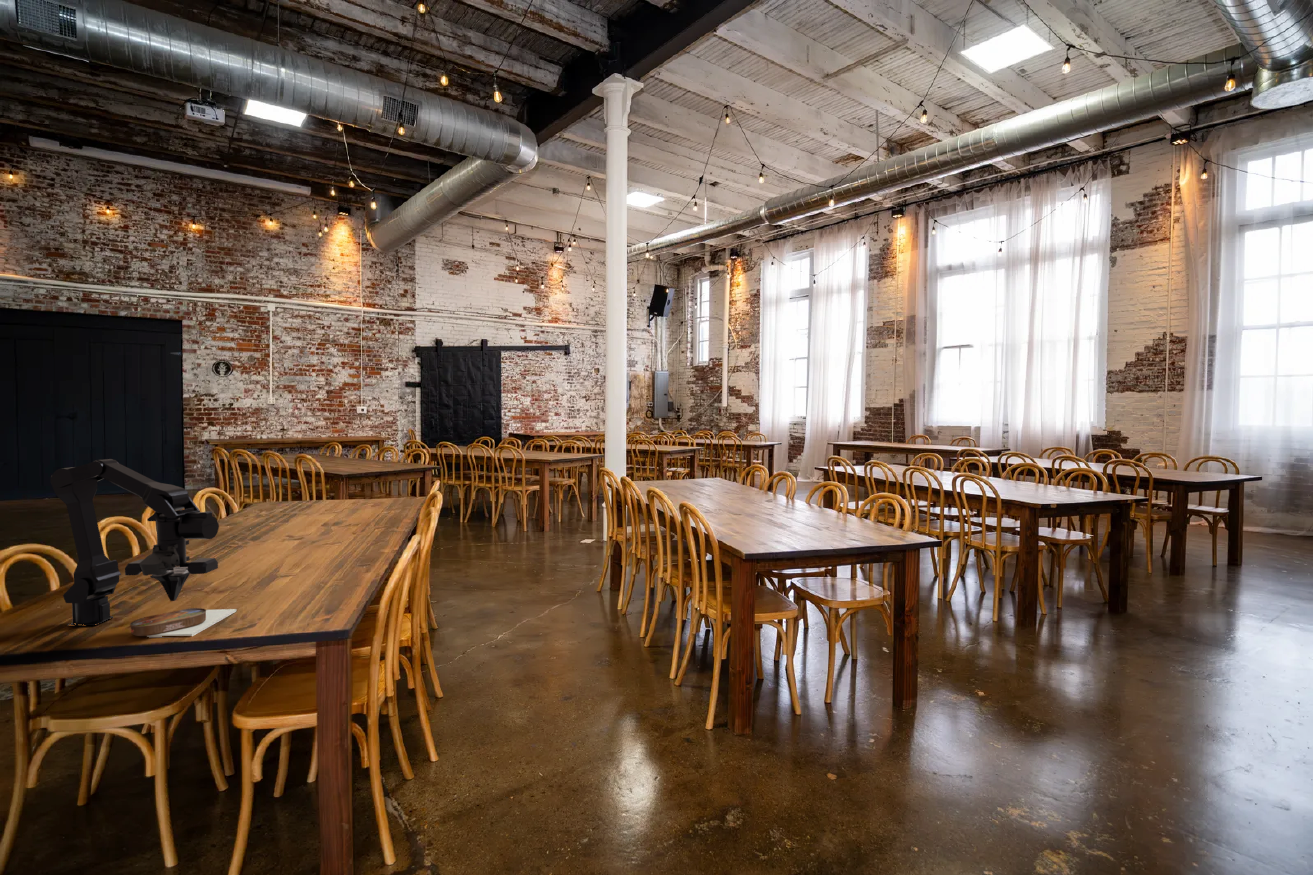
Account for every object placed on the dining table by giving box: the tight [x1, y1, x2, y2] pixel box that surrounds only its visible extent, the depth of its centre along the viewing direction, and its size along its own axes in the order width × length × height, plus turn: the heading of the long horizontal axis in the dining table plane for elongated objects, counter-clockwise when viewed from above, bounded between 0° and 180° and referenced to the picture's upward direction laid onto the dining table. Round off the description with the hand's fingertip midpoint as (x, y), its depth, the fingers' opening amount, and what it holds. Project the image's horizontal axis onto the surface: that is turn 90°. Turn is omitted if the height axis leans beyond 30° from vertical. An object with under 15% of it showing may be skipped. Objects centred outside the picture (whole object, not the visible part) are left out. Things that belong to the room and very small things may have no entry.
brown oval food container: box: [129, 607, 207, 637], centre depth 158 cm, size 15×3×8 cm
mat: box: [146, 608, 237, 638], centre depth 163 cm, size 10×19×1 cm, turn 5°
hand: (173, 600), depth 161 cm, fingers closed
